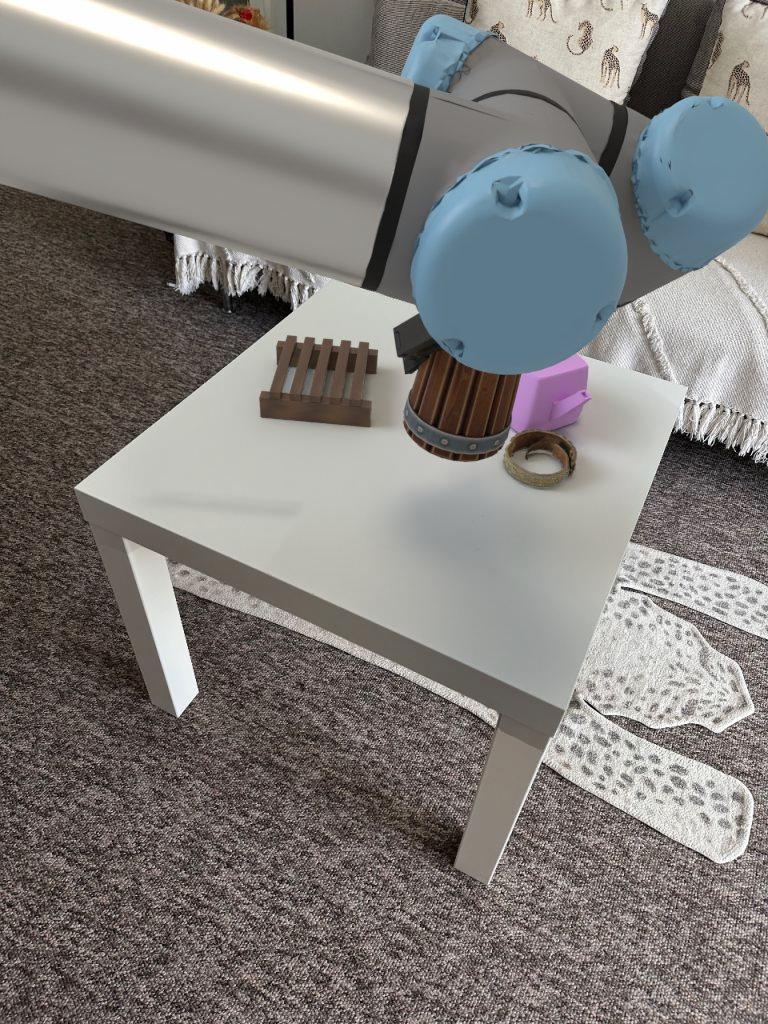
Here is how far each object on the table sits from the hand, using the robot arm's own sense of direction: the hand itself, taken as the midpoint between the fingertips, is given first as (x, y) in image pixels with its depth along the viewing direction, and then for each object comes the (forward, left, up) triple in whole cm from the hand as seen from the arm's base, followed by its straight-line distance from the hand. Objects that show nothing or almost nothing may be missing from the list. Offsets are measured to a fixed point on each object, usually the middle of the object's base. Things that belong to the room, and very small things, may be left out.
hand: (455, 355), depth 70 cm
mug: (+1, -3, -6) cm, 7 cm away
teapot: (+13, +17, -18) cm, 28 cm away
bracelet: (+13, +6, -18) cm, 22 cm away
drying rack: (-15, +18, -18) cm, 29 cm away
